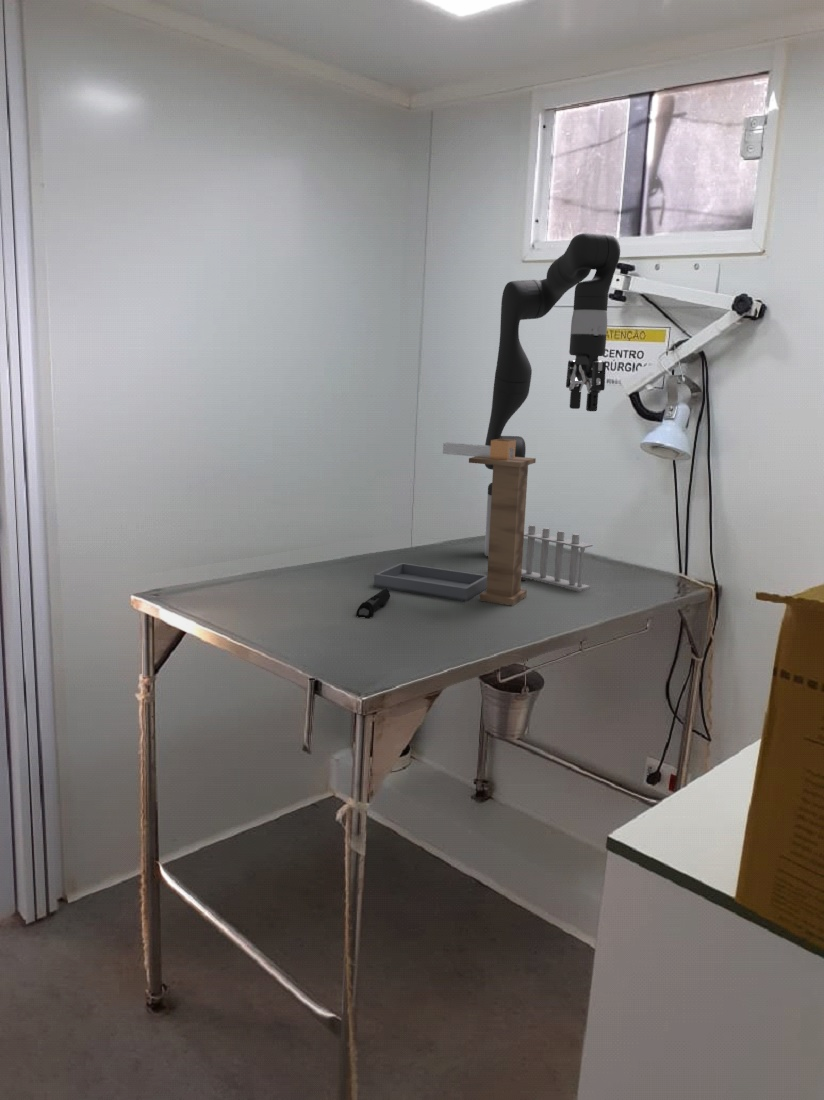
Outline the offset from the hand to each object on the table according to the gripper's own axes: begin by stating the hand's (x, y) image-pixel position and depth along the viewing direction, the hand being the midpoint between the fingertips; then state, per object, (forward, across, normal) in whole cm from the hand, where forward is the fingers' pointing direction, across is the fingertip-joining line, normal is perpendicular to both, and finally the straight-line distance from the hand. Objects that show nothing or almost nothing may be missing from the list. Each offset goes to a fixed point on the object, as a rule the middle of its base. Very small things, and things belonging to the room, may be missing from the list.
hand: (582, 409), depth 187 cm
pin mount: (+43, -6, -16) cm, 46 cm away
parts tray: (+43, -16, -28) cm, 54 cm away
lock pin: (+11, -10, -20) cm, 25 cm away
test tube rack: (+44, -20, +2) cm, 48 cm away
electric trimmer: (+44, -1, -45) cm, 63 cm away
